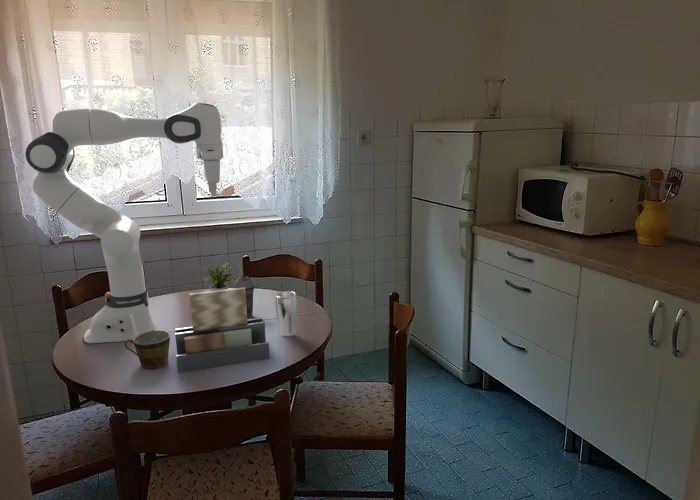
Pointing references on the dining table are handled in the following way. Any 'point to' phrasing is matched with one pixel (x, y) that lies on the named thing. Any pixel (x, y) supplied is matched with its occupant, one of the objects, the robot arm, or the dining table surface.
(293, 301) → the silver metal cylinder
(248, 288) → the beverage cup
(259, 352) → the offcut rack
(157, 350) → the ceramic cup
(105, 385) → the dining table surface
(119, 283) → the robot arm
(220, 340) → the walnut offcut
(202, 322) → the beige brown zigzag panel
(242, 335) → the sage offcut
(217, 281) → the house plant
